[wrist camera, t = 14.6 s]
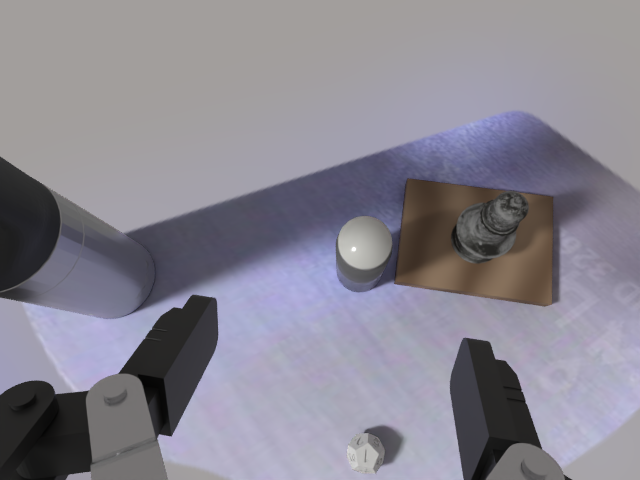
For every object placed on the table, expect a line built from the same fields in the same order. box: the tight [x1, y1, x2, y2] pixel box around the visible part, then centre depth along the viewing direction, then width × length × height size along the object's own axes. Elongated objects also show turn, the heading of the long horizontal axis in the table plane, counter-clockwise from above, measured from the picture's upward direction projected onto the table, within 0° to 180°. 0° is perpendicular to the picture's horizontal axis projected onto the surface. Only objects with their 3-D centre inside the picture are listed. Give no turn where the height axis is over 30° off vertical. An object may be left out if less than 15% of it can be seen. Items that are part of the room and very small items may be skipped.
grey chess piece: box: [451, 191, 529, 264], centre depth 41 cm, size 6×6×12 cm
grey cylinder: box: [336, 216, 392, 292], centre depth 42 cm, size 5×5×11 cm
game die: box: [347, 433, 385, 474], centre depth 41 cm, size 4×4×3 cm
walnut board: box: [394, 178, 553, 306], centre depth 47 cm, size 16×12×2 cm
